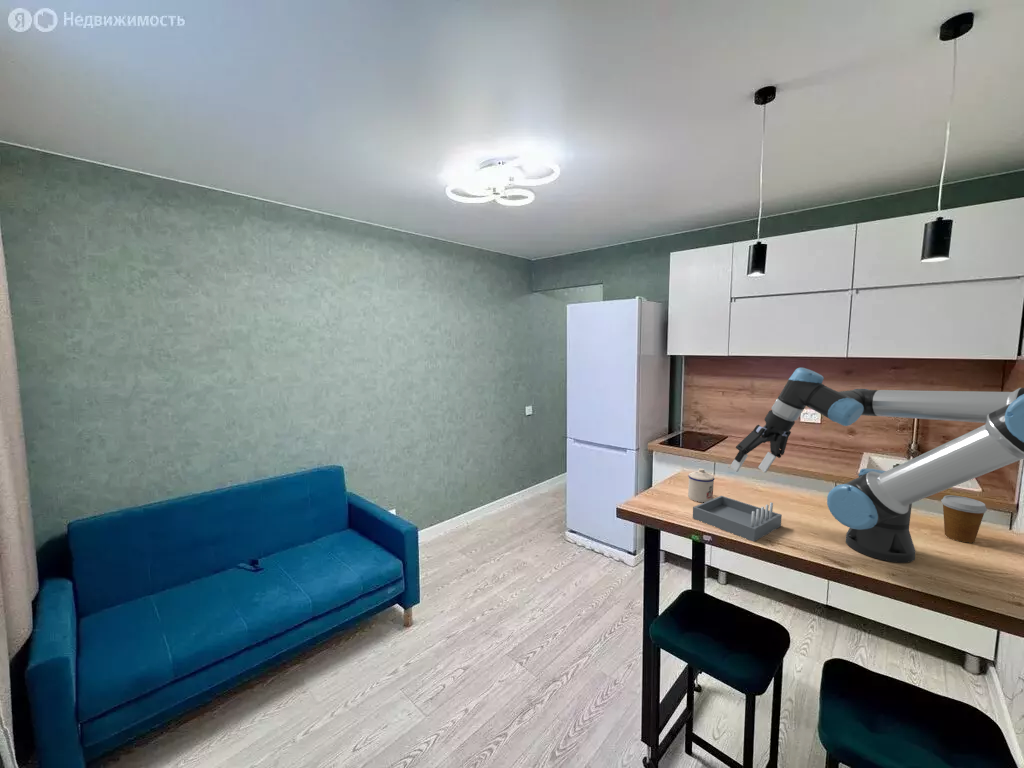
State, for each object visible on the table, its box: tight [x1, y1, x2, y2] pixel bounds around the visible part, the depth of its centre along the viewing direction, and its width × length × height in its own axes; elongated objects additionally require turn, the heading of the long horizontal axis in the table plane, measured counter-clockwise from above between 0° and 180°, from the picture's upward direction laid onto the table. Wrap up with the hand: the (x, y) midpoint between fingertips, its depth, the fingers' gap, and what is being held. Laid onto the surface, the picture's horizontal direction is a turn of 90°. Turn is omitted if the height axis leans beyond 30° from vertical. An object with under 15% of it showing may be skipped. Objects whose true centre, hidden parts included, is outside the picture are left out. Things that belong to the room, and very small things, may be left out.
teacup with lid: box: [687, 468, 715, 503], centre depth 160 cm, size 12×9×12 cm
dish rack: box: [692, 495, 783, 543], centre depth 138 cm, size 20×18×8 cm
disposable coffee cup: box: [940, 494, 988, 544], centre depth 127 cm, size 10×10×12 cm
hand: (748, 469), depth 137 cm, fingers open, 13 cm apart
